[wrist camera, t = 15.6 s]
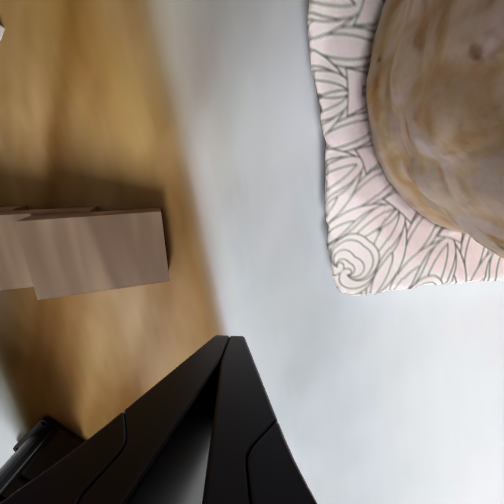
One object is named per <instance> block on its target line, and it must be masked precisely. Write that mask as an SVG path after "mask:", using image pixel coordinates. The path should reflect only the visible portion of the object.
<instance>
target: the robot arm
mask: <svg viewBox="0 0 504 504" xmlns="http://www.w3.org/2000/svg"><path fill="white" fill-rule="evenodd" d="M13 450H14V451H15V453H14V454H13V455H12V456H11V458H10V459H9V460H8V461H7V462H6V463H5V464H4V465H3V466H2V467H1V469H0V504H201V502H202V504H317V502H316V500H315V499H314V497H313V495H312V493H311V491H310V489H309V488H308V486H307V484H306V482H305V480H304V478H303V476H302V474H301V472H300V470H299V468H298V466H297V464H296V463H295V461H294V458H293V456H292V454H291V452H290V449H289V447H288V445H287V442H286V440H285V438H284V435H283V433H282V430H281V428H280V425H279V424H278V421H277V418H276V416H275V413H274V411H273V408H272V406H271V403H270V401H269V398H268V396H267V393H266V391H265V388H264V385H263V383H262V380H261V378H260V375H259V373H258V370H257V368H256V365H255V363H254V360H253V358H252V355H251V353H250V350H249V348H248V345H247V343H246V340H245V338H244V337H243V336H231V337H229V336H222V335H216V336H214V337H213V338H212V339H211V340H210V341H208V342H207V343H206V344H205V345H203V346H202V347H201V348H200V349H199V350H197V351H196V352H195V353H194V354H193V355H191V356H190V357H189V358H188V359H186V360H185V361H184V362H183V363H182V364H180V365H179V366H178V367H177V368H175V369H174V370H173V371H172V372H171V373H169V374H168V375H167V376H166V377H164V378H163V379H162V380H161V381H160V382H158V383H157V384H156V385H155V386H154V387H152V388H151V389H150V390H149V391H147V392H146V393H145V394H144V395H143V396H141V397H140V398H139V399H138V400H136V401H135V402H134V403H133V404H132V405H130V406H129V407H128V408H127V409H126V410H125V411H124V413H120V414H119V415H118V416H117V417H116V418H114V419H113V420H112V421H111V422H110V423H108V424H107V425H106V426H105V427H103V428H102V429H101V430H99V431H98V432H97V433H96V434H94V435H93V436H92V437H91V438H89V439H88V440H87V441H85V442H83V441H81V440H80V439H79V438H77V437H76V436H74V435H73V434H72V433H70V432H69V431H67V430H66V429H65V428H63V427H62V426H60V425H59V424H58V423H56V422H55V421H53V420H52V419H51V418H49V417H47V416H44V417H42V419H41V420H40V421H39V422H38V423H37V424H36V425H35V426H34V427H33V428H32V429H31V430H30V431H29V432H28V433H27V434H26V435H25V436H24V437H23V438H22V439H21V440H20V441H19V442H18V443H17V444H16V445H15V446H14V448H13ZM202 498H203V500H202Z"/></svg>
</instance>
